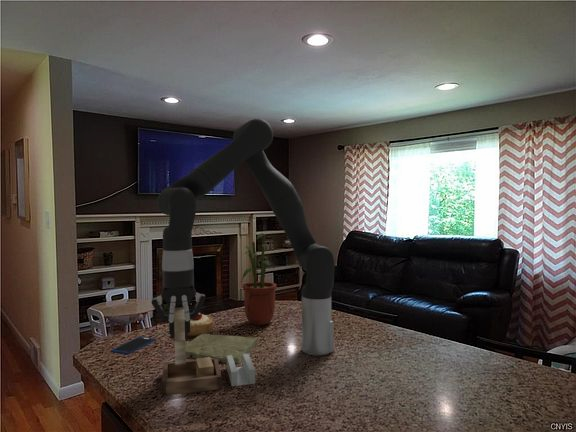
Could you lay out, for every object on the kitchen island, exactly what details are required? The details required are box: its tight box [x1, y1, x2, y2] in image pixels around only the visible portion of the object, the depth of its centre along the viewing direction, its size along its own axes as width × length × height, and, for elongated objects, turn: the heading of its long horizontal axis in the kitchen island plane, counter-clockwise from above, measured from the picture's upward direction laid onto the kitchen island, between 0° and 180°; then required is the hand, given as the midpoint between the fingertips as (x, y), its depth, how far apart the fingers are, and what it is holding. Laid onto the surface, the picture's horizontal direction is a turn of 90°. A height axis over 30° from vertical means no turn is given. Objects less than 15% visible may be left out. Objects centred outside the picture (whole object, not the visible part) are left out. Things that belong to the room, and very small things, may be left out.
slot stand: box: [226, 353, 256, 387], centre depth 104 cm, size 6×11×4 cm, turn 15°
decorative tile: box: [185, 333, 258, 364], centre depth 123 cm, size 19×20×4 cm
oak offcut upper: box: [195, 357, 214, 377], centre depth 101 cm, size 4×6×2 cm, turn 19°
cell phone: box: [110, 336, 157, 355], centre depth 129 cm, size 7×14×1 cm, turn 162°
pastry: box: [187, 312, 214, 338], centre depth 142 cm, size 12×12×9 cm
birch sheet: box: [174, 307, 187, 365], centre depth 100 cm, size 2×9×13 cm, turn 15°
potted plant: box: [240, 233, 277, 326], centre depth 153 cm, size 17×16×35 cm
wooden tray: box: [161, 358, 223, 397], centre depth 101 cm, size 14×12×4 cm
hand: (179, 335), depth 100 cm, fingers closed on birch sheet, 2 cm apart
